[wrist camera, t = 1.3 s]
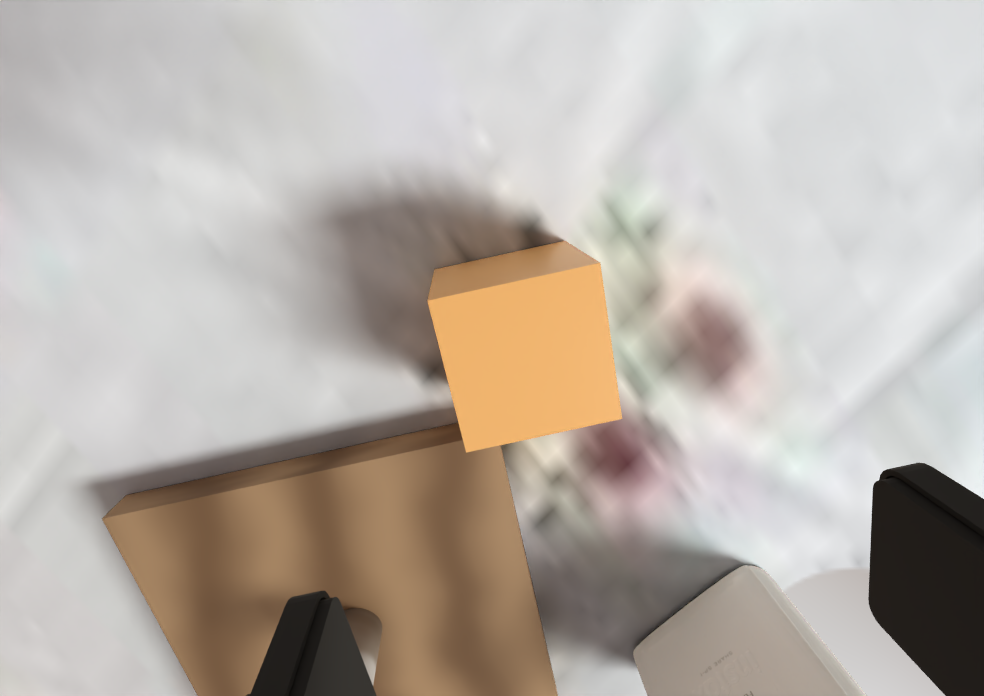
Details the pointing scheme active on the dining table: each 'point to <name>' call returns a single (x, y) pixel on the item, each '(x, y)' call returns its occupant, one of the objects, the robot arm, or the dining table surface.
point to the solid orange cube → (525, 344)
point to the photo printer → (740, 646)
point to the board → (347, 566)
